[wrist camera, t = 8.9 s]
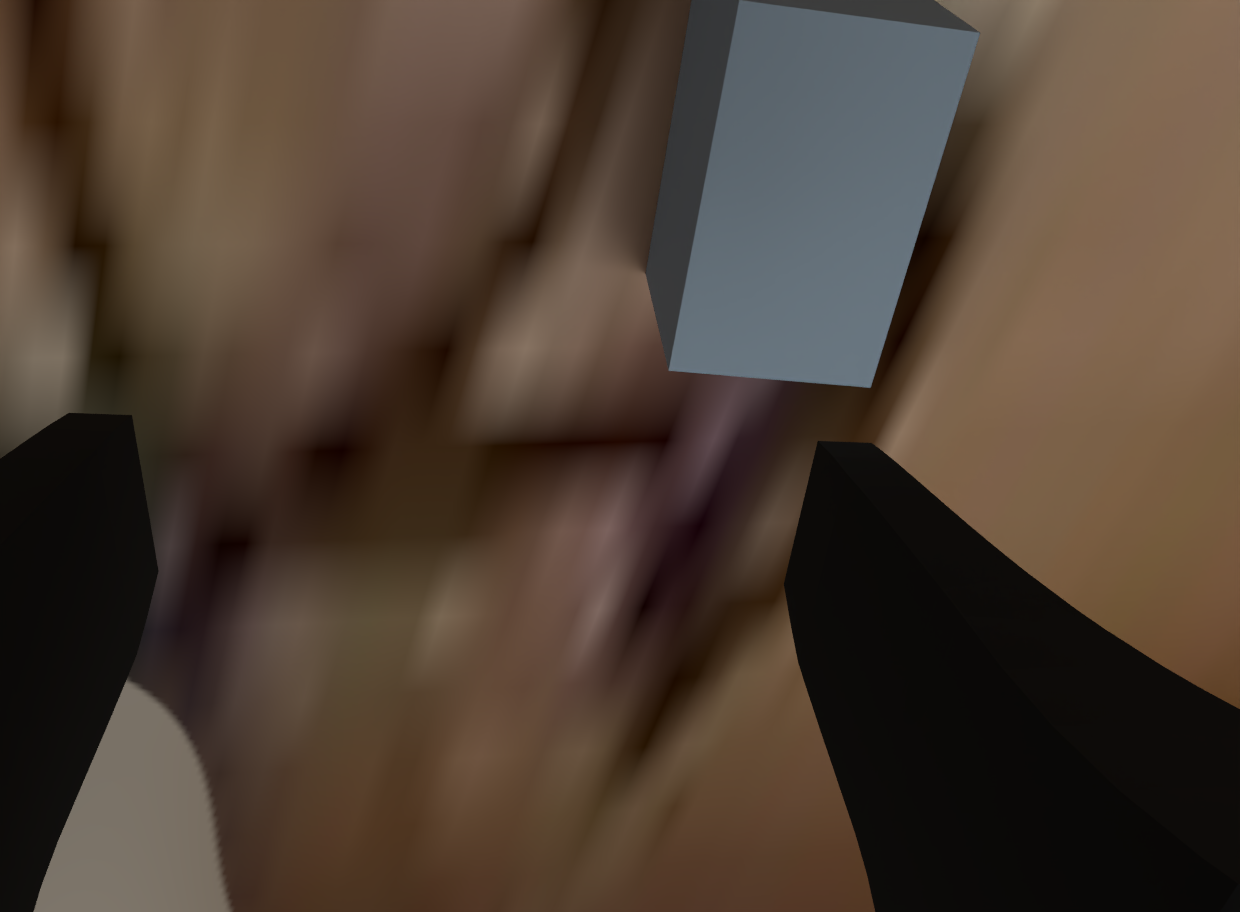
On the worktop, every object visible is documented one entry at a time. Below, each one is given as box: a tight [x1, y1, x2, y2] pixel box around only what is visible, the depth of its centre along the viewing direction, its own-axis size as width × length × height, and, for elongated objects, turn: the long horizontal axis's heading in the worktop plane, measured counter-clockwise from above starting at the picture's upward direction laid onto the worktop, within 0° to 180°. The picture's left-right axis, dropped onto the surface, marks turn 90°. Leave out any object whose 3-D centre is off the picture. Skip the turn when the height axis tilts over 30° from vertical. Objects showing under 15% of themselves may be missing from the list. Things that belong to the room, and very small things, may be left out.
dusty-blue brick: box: [646, 0, 980, 388], centre depth 19 cm, size 4×6×4 cm, turn 172°
